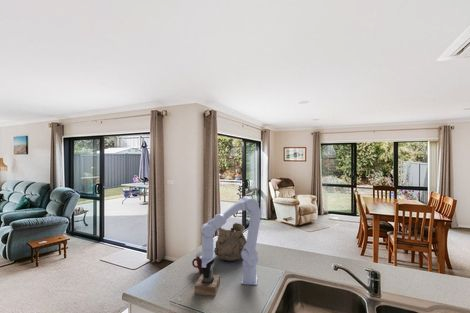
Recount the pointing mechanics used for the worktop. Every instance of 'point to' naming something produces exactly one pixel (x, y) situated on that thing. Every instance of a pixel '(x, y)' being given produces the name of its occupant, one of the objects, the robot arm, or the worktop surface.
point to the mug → (198, 262)
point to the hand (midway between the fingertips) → (207, 275)
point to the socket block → (207, 286)
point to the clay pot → (230, 243)
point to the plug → (209, 275)
